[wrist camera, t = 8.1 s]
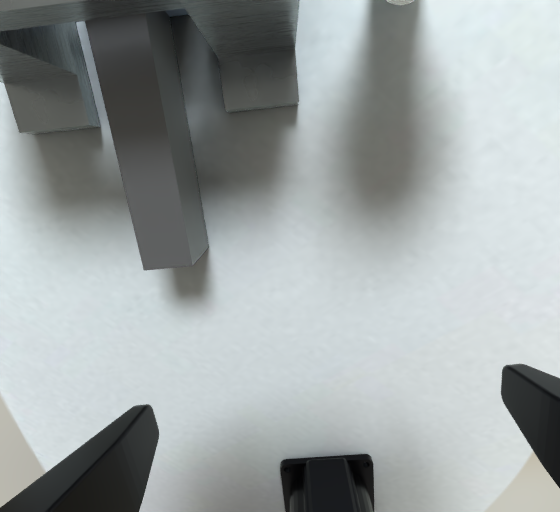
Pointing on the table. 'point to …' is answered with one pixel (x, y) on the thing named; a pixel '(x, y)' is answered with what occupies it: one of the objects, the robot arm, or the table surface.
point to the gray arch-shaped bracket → (113, 3)
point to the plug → (151, 135)
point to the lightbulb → (400, 2)
